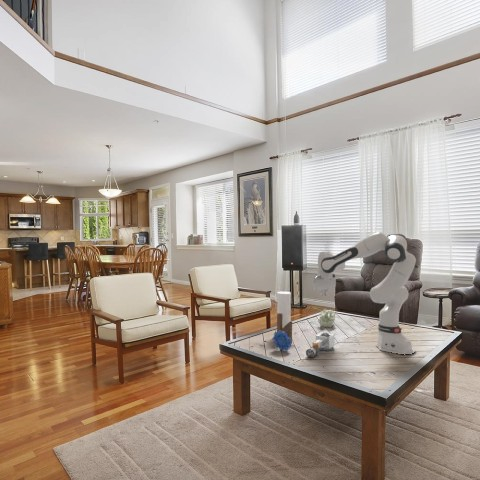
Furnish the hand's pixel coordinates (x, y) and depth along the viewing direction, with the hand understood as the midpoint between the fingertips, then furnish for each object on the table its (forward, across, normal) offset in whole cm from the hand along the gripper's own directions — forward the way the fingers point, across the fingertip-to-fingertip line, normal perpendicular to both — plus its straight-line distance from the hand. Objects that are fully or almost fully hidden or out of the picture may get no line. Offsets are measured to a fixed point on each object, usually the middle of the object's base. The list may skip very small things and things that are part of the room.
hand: (324, 295), depth 236 cm
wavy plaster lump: (+29, +30, +20) cm, 47 cm away
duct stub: (+29, -33, -18) cm, 47 cm away
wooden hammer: (+29, -26, +12) cm, 41 cm away
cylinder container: (+29, -14, +24) cm, 40 cm away
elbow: (+28, -20, -14) cm, 37 cm away
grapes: (+29, -40, 0) cm, 50 cm away
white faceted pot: (+29, -15, -13) cm, 35 cm away
